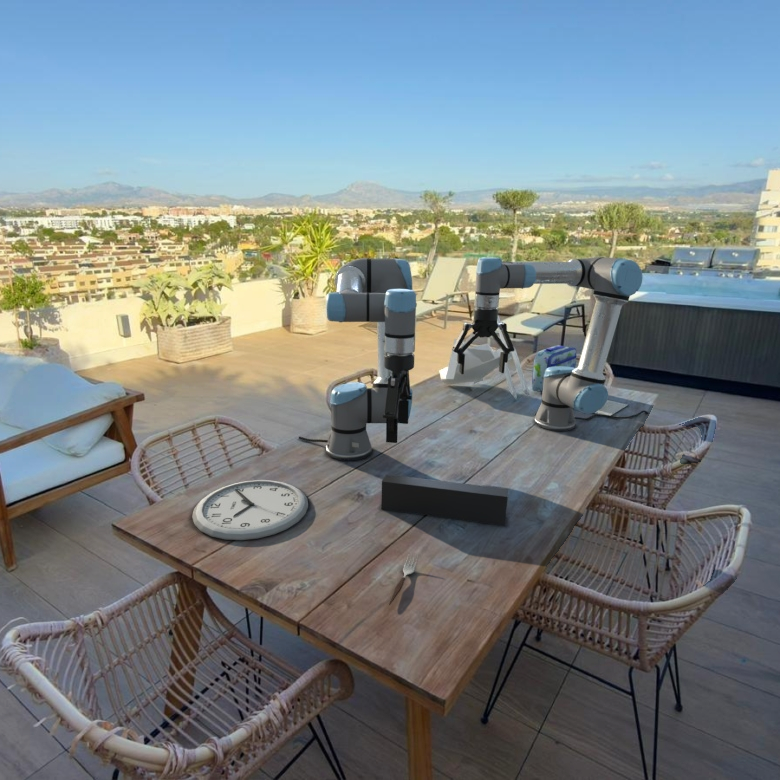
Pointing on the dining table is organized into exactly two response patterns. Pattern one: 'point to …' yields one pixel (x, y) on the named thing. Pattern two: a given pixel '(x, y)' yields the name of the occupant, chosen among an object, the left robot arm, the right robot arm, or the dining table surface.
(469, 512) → the bar
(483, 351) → the white plastic object
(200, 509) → the wall clock
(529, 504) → the dining table surface
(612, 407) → the invitation card
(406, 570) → the fork
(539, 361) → the lunch box
